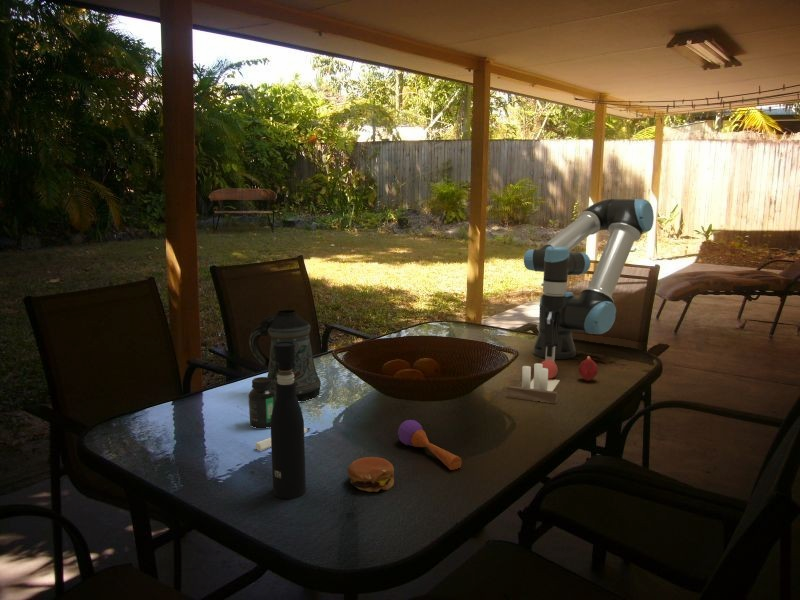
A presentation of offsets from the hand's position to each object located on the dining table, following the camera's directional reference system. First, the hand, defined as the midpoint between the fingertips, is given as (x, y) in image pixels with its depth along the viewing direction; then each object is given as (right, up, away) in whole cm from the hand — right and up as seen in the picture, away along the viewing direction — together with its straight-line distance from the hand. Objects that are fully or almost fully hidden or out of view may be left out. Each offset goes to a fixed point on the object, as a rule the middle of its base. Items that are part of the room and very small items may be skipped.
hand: (549, 365), depth 199 cm
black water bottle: (-71, -17, -79) cm, 107 cm away
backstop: (-11, -7, -25) cm, 28 cm away
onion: (+10, -4, -7) cm, 13 cm away
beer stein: (-82, -7, -21) cm, 85 cm away
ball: (-2, -1, -5) cm, 6 cm away
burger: (-55, -16, -75) cm, 95 cm away
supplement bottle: (-84, -11, -44) cm, 95 cm away
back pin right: (-12, -6, -21) cm, 25 cm away
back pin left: (-8, -7, -23) cm, 25 cm away
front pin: (-8, -6, -18) cm, 21 cm away
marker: (-77, -13, -53) cm, 94 cm away
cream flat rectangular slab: (-5, -5, -11) cm, 13 cm away
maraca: (-43, -14, -62) cm, 76 cm away
